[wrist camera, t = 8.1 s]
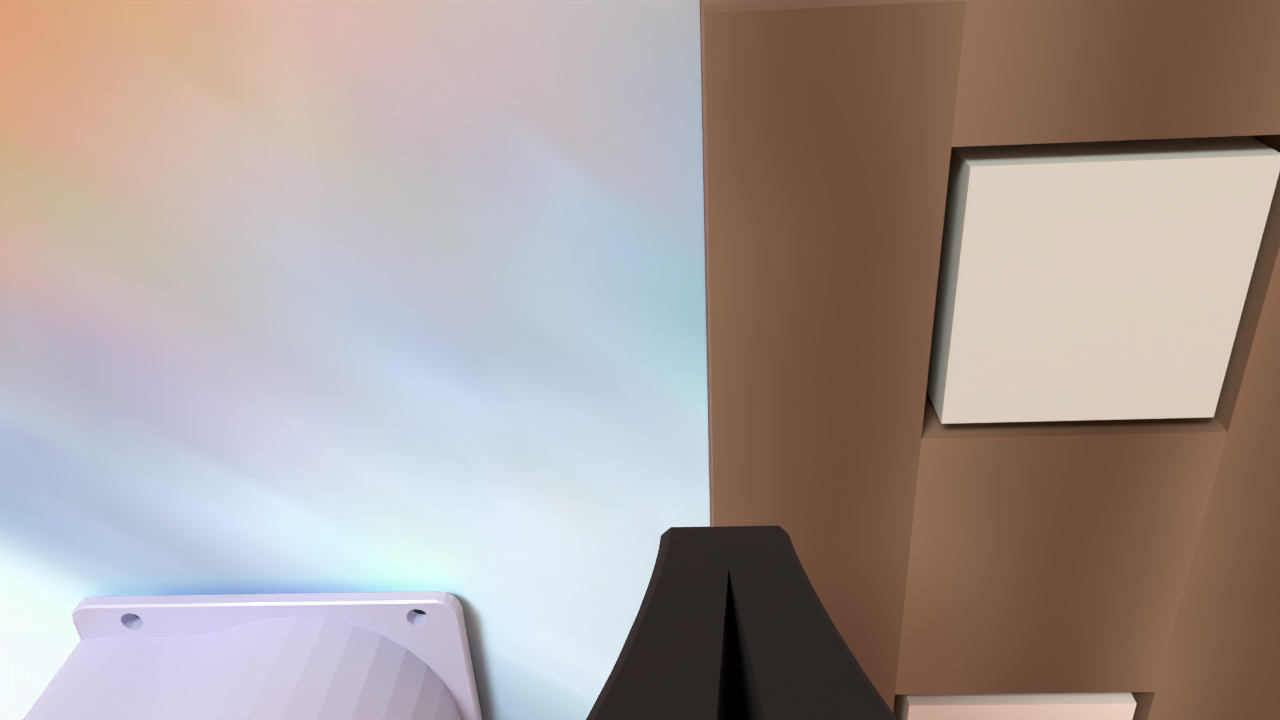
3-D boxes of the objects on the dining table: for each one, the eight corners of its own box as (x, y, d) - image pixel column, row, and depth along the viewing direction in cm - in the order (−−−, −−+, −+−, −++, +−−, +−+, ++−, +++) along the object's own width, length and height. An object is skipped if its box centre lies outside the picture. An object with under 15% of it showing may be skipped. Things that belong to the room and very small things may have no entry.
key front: (904, 340, 19) (941, 423, 16) (924, 113, 17) (970, 166, 14) (1138, 333, 19) (1213, 417, 16) (1188, 102, 17) (1284, 155, 14)
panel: (714, 766, 26) (720, 911, 23) (699, -27, 17) (704, 12, 13) (1173, 763, 26) (1252, 912, 22) (1427, -62, 16) (1634, -31, 13)
